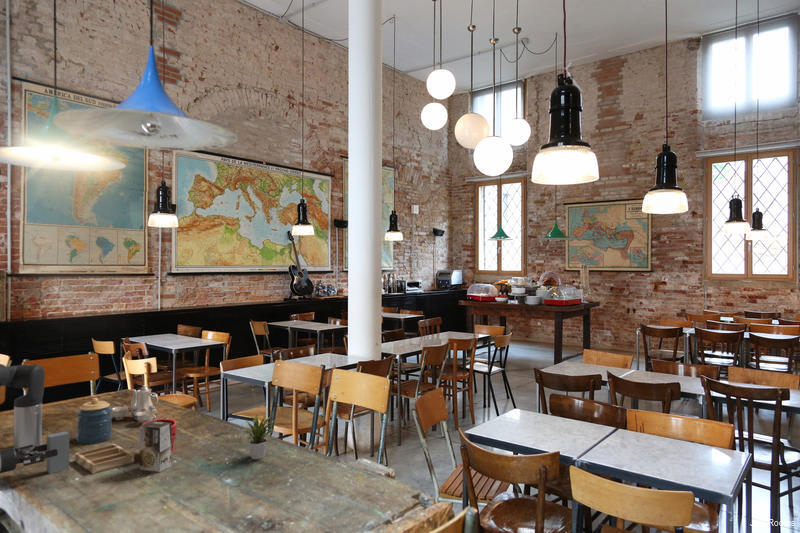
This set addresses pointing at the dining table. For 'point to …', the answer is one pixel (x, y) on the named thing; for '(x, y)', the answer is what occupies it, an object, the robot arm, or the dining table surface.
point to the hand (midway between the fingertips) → (53, 449)
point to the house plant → (258, 437)
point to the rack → (104, 458)
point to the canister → (94, 422)
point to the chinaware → (138, 406)
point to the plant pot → (173, 429)
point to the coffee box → (155, 446)
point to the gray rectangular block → (62, 445)
